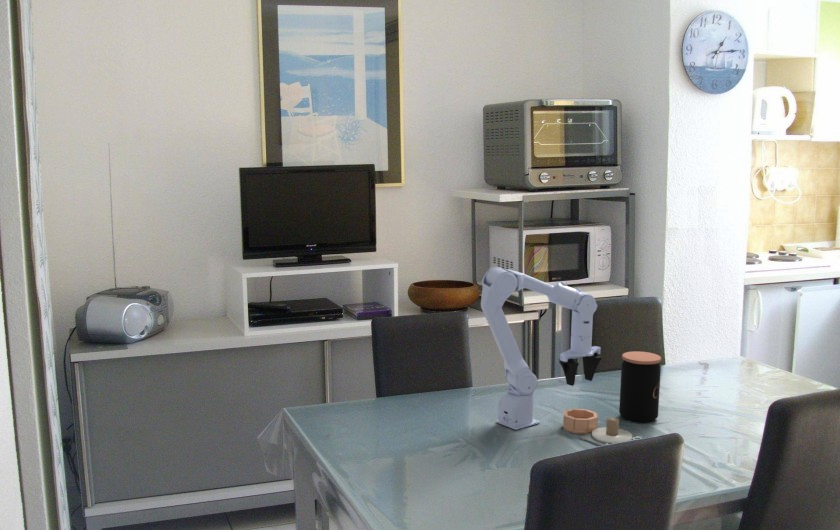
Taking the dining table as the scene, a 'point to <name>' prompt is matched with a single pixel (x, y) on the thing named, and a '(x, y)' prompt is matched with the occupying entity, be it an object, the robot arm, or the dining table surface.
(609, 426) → the lid
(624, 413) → the coffee jar
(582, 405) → the dining table surface
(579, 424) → the bowl
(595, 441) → the mat
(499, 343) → the robot arm
